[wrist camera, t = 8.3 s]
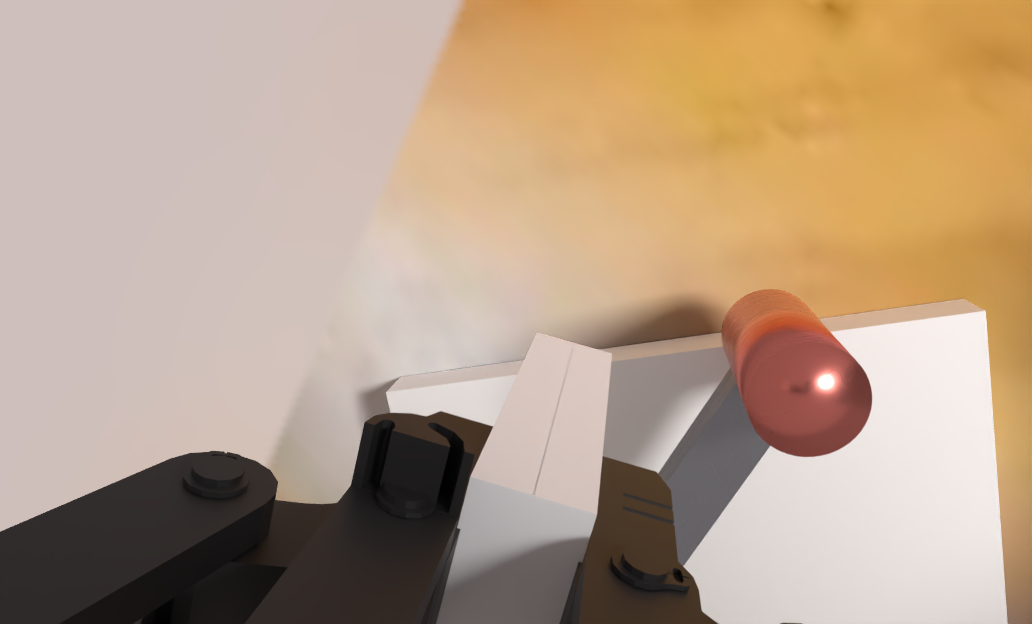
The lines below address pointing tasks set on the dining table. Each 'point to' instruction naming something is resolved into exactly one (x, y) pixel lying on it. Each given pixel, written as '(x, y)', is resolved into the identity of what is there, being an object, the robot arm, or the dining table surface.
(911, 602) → the base
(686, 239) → the dining table surface
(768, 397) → the lever
